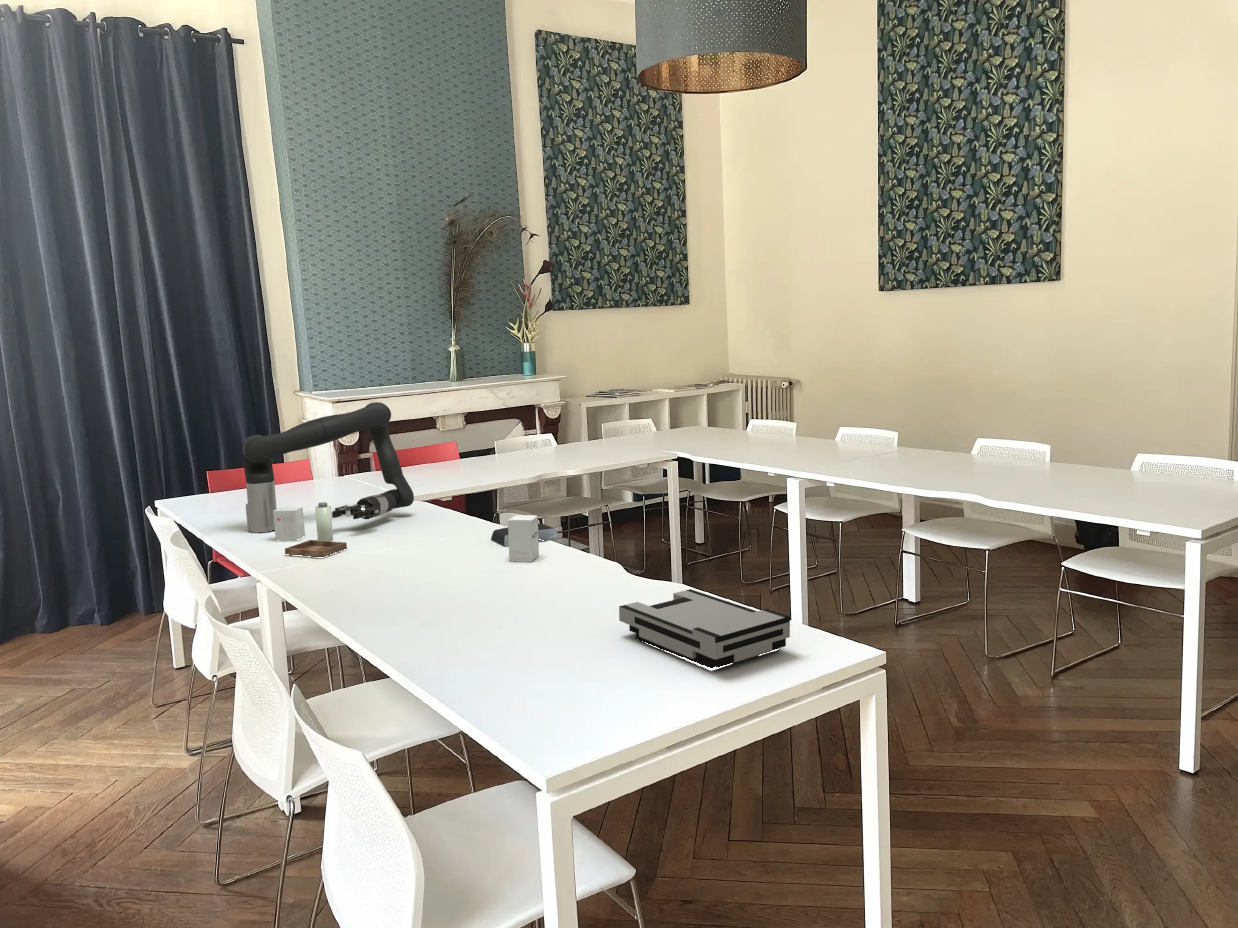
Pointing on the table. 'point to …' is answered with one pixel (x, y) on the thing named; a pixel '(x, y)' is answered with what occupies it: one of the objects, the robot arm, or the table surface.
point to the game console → (707, 628)
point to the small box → (289, 523)
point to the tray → (316, 548)
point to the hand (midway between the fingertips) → (343, 515)
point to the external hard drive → (543, 534)
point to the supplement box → (523, 538)
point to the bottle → (324, 522)
